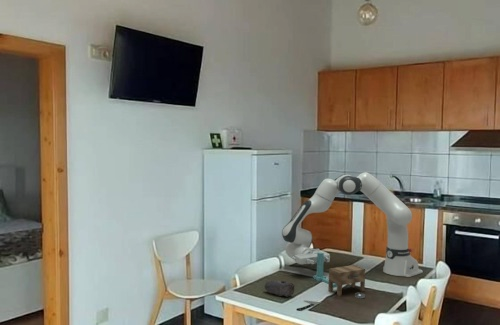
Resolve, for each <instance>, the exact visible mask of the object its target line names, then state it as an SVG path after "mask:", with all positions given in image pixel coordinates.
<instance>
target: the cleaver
mask: <svg viewBox="0 0 500 325" xmlns="http://www.w3.org/2000/svg"><path fill="white" fill-rule="evenodd" d="M303 302H304V303H307V304H308V305H306V306H302V307H298V308H296V309H295V310H296V311H298V312H302V311H305V310H308V309H309V308H313V307H314V306H317V305H318V304H322V303H323V302H322V301H313V300H306V299H304V300H303Z"/></svg>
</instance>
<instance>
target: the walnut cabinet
mask: <svg viewBox="0 0 500 325" xmlns="http://www.w3.org/2000/svg"><path fill="white" fill-rule="evenodd" d="M328 280H329V284H328V286H327V288H328V292H330V293H331V292H333V291H334V288H333V283H335V284H337V287H336V295H337V296H339V297H340V296H342V294H343V293H342V290H343V286H345V285H350V287H351V288H356V284H357V283H359V291H360V292H361V293H363V292H365V290H366V289H365V288H366V285H365V284H366V283H365V282H366V268H364V267H361V266H358V265H355V264H351V265H345V266H338V267H332V268H329V269H328ZM342 285H343V286H342Z"/></svg>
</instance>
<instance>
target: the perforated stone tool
mask: <svg viewBox="0 0 500 325" xmlns="http://www.w3.org/2000/svg"><path fill="white" fill-rule="evenodd" d="M264 289H265V290H266V292H268V293H269V294H274V295H275V296H279V297H286V298H288V297H292V295H293V294H294V293H295V284H294V283H293V282H291V281H285V280H276V279H275V280H273V279H272V280H269V281H266V282H265V284H264Z"/></svg>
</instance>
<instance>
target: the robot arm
mask: <svg viewBox="0 0 500 325" xmlns="http://www.w3.org/2000/svg"><path fill="white" fill-rule="evenodd" d="M359 191H360V192H361V193H363V195H365V196H366V198H368V199H369V200H370V201H371V202H372V203H373V204H374V205H375V206H376V207H377V208H378V209H379V210H380V211H381V212H383V213H384V214H385V216H386V227H387V228H386V229H387V238H386V239H387V246H386V248H385V249H386V250H385V253H386V254H385V259H384V265H383V267H382V269H383V270H382V272H383V273H384V274H387V275H391V276H397V277H404V278H405V277H407V278H411V277H413V276H417V275H419V274H422V273H424V272H423V270H422V269H421V268H419V262H418V260H417V259H416V258H414V257H413V256H412V255H411V253H414V249H413V248H410V247H409V230H408V224H410V223H411V222H412V219H413V213H412V211H411V209H410V208H409V207H408V206H407V205H406V204H405V203H404V202H403V201H402V200H401V199H399V197H397V196H396V195H395V194H394V192H392V191H391V190H389V188H387V187H386V186H385V185H384V184H383V183H382V182H381V181H380V180H379V179H378V178H376V177H375V176H373V175H372V174H371V173H369V172H366V171H365V172H364V171H363V172H361V173H360V174H359V175H358V176H353V175H351V174H341V175H340V176H338V177H337V178H335V179H332V178H324V179H323V181H321V183H320V184H319V186H317V188H316V190H315V192H314V194H313V195H312V196H311V197H310V198H309V199H308V200H305V201H304V202H303V203H302V204H301V205H300V206H299V208H298V209H297V211H296V212H295V213H294V215H293V216H292V218H291V219H290V220H289V222H288V223H286V225H285V226H284V227H283V229H282V230H281V236H282V238H283V240H284V242H286V243H287V244H286V245H285V247H284V251H285V253H286V255H287V256H288V257H289V258H290V259H291V260H293V261H294V262H295V264H298V265H309V264H311V265H315V264H317V253H319V252H322V253H324V262H325V263H330V258H331V255H330V253H328V252H326V251H324V250H320V248H314V247H311V246H312V243H313V235H312V232H311V231H310V230H308V229H304V228H303V227H300V225H301V224H302V222H303V221H304V219H305V218H306V217H307V216H308V215H310V214H314V213H317V214H318V213H324V212H326V211H328V210H329V209H330V207H331V206H332V204H333V202H334V200H335V197H337V195H339V194H340V193H341V194H342V195H346V196H351V195H354V194H356V193H357V192H359Z"/></svg>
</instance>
